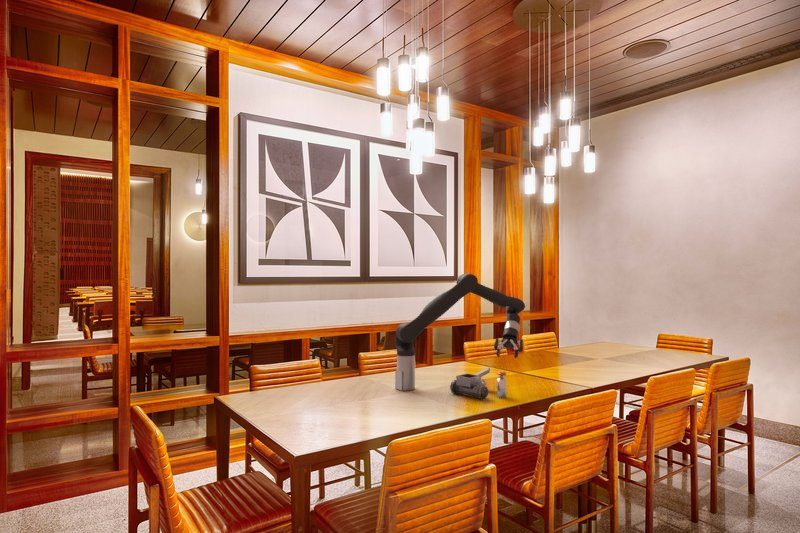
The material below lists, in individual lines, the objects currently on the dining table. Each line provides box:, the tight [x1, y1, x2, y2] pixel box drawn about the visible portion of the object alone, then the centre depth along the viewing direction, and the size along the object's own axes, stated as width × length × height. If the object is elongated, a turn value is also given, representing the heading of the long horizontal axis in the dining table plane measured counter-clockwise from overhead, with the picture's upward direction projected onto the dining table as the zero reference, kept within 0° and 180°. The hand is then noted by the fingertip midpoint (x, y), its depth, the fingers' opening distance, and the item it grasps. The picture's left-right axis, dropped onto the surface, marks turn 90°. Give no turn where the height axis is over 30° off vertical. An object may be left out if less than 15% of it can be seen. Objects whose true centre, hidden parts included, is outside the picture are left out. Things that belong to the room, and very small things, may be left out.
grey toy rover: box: [449, 373, 489, 401], centre depth 237 cm, size 18×8×10 cm, turn 43°
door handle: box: [473, 366, 491, 386], centre depth 257 cm, size 18×8×20 cm
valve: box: [496, 371, 507, 399], centre depth 236 cm, size 4×4×12 cm
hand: (506, 356), depth 247 cm, fingers open, 8 cm apart
